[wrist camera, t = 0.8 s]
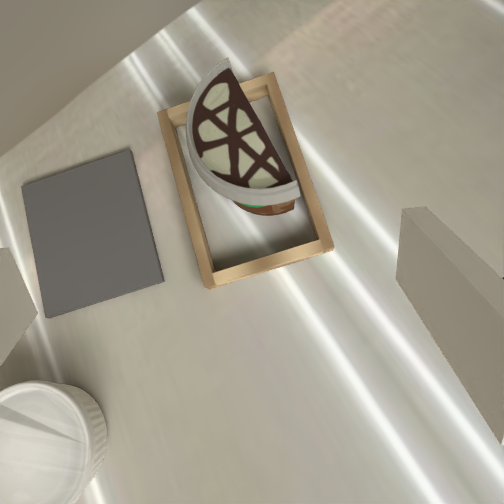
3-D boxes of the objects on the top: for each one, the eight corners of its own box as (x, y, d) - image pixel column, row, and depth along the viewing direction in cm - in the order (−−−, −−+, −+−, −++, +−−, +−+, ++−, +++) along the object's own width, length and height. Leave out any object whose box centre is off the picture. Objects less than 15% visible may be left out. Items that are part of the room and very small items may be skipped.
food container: (189, 146, 41) (153, 89, 31) (243, 117, 40) (224, 51, 31) (243, 252, 38) (222, 227, 28) (301, 222, 38) (300, 187, 28)
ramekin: (104, 358, 38) (72, 364, 33) (132, 482, 36) (104, 509, 30) (-4, 394, 39) (-51, 405, 33) (18, 518, 36) (-29, 550, 31)
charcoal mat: (131, 151, 41) (129, 149, 41) (164, 281, 38) (162, 280, 38) (25, 188, 42) (21, 186, 41) (49, 318, 39) (45, 318, 39)
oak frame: (274, 83, 41) (273, 71, 39) (332, 250, 37) (334, 246, 35) (163, 122, 41) (156, 112, 39) (209, 289, 38) (204, 287, 36)
